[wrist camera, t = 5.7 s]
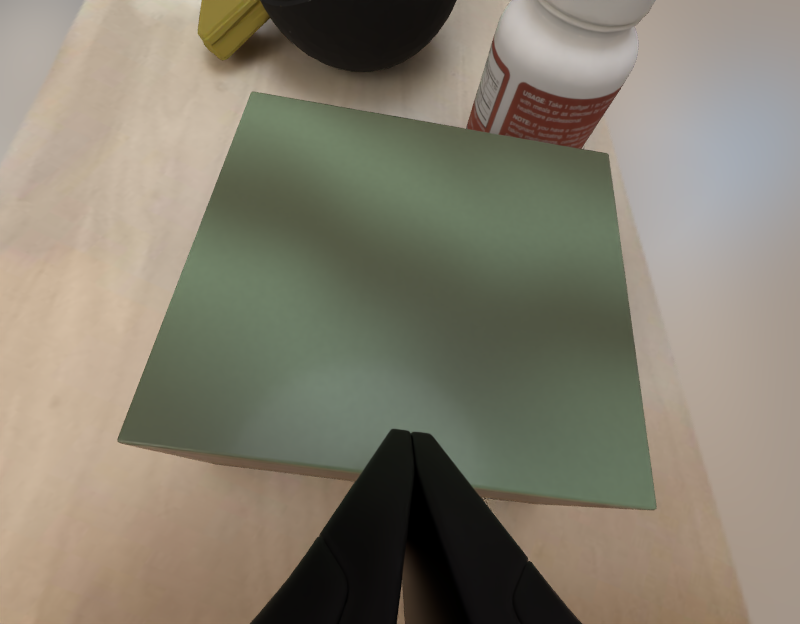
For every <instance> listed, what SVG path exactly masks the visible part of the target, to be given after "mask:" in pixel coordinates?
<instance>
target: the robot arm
mask: <svg viewBox="0 0 800 624" xmlns="http://www.w3.org/2000/svg"><path fill="white" fill-rule="evenodd" d="M527 561H528V558H527V556H526V555H525V554H524V552H523V551H522V550H521V548H520V547H519V546H518V545H517V543H516V542H515V541H514V539H513V538H512V537H511V536H510V534H509V533H508V532H507V530H506V529H505V528H504V527H503V525H502V524H501V523H500V521H499V520H498V519H497V518H496V516H495V515H494V514H493V512H492V511H491V510H490V509H489V507H488V506H487V505H486V504H485V502H484V501H483V500H482V498H481V497H480V496H479V495H478V493H477V492H476V491H475V489H474V488H473V487H472V486H471V484H470V483H469V482H468V480H467V479H466V478H465V477H464V475H463V474H462V473H461V471H460V470H459V469H458V468H457V466H456V465H455V464H454V462H453V461H452V460H451V459H450V457H449V456H448V455H447V453H446V452H445V451H444V450H443V448H442V447H441V446H440V445H439V443H438V442H437V441H436V439H435V438H434V437H433V436H432V435H431V434H430V433H423V432H415V431H414V432H412V433H410V432H409V431H408V430H400V429H391V430H390V431H389V433H388V434H387V436H386V437H385V439H384V440H383V442H382V443H381V444H380V446H379V447H378V449H377V450H376V452H375V453H374V455H373V456H372V458H371V459H370V461H369V462H368V464H367V465H366V467H365V468H364V470H363V471H362V473H361V474H360V475H359V477H358V478H357V480H356V481H355V483H354V484H353V486H352V487H351V489H350V490H349V492H348V493H347V495H346V496H345V498H344V499H343V501H342V502H341V504H340V505H339V506H338V508H337V509H336V511H335V512H334V514H333V515H332V517H331V518H330V520H329V521H328V523H327V524H326V526H325V527H324V529H323V530H322V532H321V533H320V535H319V537H318V538H317V539H316V540H315V541H314V543H313V544H312V546H311V547H310V549H309V550H308V552H307V553H306V555H305V556H304V557H303V559H302V560H301V562H300V563H299V564H298V566H297V567H296V568H295V570H294V571H293V572H292V574H291V575H290V577H289V578H288V579H287V581H286V582H285V583H284V584H283V585H282V586H281V588H280V589H279V590H278V591H277V592H276V594H275V595H274V596H273V597H272V598H271V600H270V601H269V602H268V603H267V604H266V606H265V607H264V608H263V609H262V610H261V611H260V613H259V614H258V615H257V616H256V617H255V618H254V619H253V621H252V622H251V623H250V624H397V616H398V608H399V600H400V592H401V584H402V587H403V602H404V617H405V624H582V623H581V622H580V621H579V620H578V619H577V617H576V616H575V615H574V614H573V613H572V612H571V611H570V610H569V608H568V607H567V606H566V605H565V603H564V602H563V601H562V600H561V599H560V597H559V596H558V595H557V594H556V592H555V591H554V590H553V589H552V588H551V586H550V585H549V584H548V583H547V581H546V580H545V579H544V578H543V576H542V575H541V574H540V573H539V571H538V570H537V569H536V567H535V566H534V565H533V564H532V562H530V561H528V562H527Z"/></svg>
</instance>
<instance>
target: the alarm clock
mask: <svg viewBox="0 0 800 624" xmlns="http://www.w3.org/2000/svg"><path fill="white" fill-rule="evenodd" d="M456 1H457V0H202V3H201V10H200V16H199V24H198V35H199V36H200V38H201V39H202V40H203V43H204V45H205V46H206V47H207V48H208V50H209V51H211V52H212V53H214V54H215V55H216V56H217V57H218V58H219V59H221V60H226V59H228V58H229V57H230V56H231V55H232V54H233V53H234V52H235V51H236V50H237V49H239V48H240V47H241V46H242V45H243V44H244V43H245V42H246V41H247V40H248V39H249V38H250V37H251V36H252V35H253V34H254V33H255V32H256V31H257V30H258V29H259V28H260V27H261V26H262V25H263V24H264V23H265V22H266V21H267V20H268V19H269V18H271V19H272V20H273V22H274V23H275V25H276V26H277V27H278V28H279V30H280V31H281V32H282V33H283V34H284V35H285V36H286V37H287V38H288V39H289V40H290V41H291V42H292V43H294V44H295V45H296V46H297V47H298V48H300V49H301V50H302V51H303V52H305V53H306V54H308V55H309V56H311V57H313V58H315V59H317V60H319V61H321V62H323V63H324V64H327V65H329V66H332V67H335V68H338V69H343V70H348V71H355V72H367V71H376V70H380V69H385V68H389V67H392V66H394V65H397V64H399V63H401V62H403V61H405V60H407V59H408V58H410V57H412V56H413V55H415V54H416V53H418V52H419V51H420V50H421V49H422V48H424V47H425V46H426V45H427V44H428V43H429V42H430V41H431V40H432V39H433V38H434V37H435V35H436V34H437V33H438V32H439V30H440V29H441V27H442V26H443V25H444V23H445V22H446V20H447V19H448V17H449V15H450V13H451V11H452V9H453V7H454V5H455V3H456Z"/></svg>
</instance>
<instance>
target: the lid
mask: <svg viewBox="0 0 800 624" xmlns="http://www.w3.org/2000/svg"><path fill="white" fill-rule="evenodd" d="M391 429H400V430H408V431H409V432H410V433H412V432H414V431H415V432H423V433H430V434H431V435H432V436H433V437H434V438H435V439H436V441H437V442H438V443H439V445H440V446H441V447H442V448H443V450H444V451H445V452H446V453H447V455H448V456H449V457H450V459H451V460H452V461H453V462H454V464H455V465H456V466H457V468H458V469H459V470H460V471H461V473H462V474H463V475H464V477H465V478H466V479H467V480H468V482H469V483H470V484H471V486H472V487H473V488H474V489H478V490H486V491H494V492H502V493H510V494H518V495H525V496H533V497H541V498H549V499H557V500H565V501H573V502H581V503H589V504H597V505H605V506H613V507H621V508H629V509H637V510H655V509H656V507H657V506H656V499H655V491H654V484H653V477H652V469H651V462H650V455H649V447H648V440H647V433H646V425H645V418H644V411H643V403H642V396H641V389H640V381H639V374H638V367H637V359H636V352H635V345H634V337H633V330H632V323H631V315H630V308H629V301H628V293H627V286H626V279H625V271H624V264H623V257H622V250H621V242H620V235H619V228H618V220H617V213H616V206H615V198H614V191H613V184H612V176H611V169H610V162H609V155H608V154H607V153H602V152H596V151H590V150H584V149H579V148H573V147H567V146H561V145H556V144H550V143H544V142H539V141H533V140H527V139H521V138H516V137H510V136H504V135H499V134H493V133H487V132H481V131H476V130H470V129H464V128H459V127H453V126H447V125H441V124H436V123H430V122H424V121H419V120H413V119H407V118H401V117H396V116H390V115H384V114H379V113H373V112H367V111H361V110H356V109H350V108H344V107H339V106H333V105H327V104H321V103H316V102H310V101H304V100H299V99H293V98H287V97H281V96H276V95H270V94H264V93H259V92H251V94H250V97H249V100H248V102H247V105H246V107H245V110H244V113H243V115H242V118H241V120H240V123H239V126H238V128H237V131H236V133H235V136H234V138H233V141H232V144H231V146H230V149H229V151H228V154H227V157H226V159H225V162H224V164H223V167H222V170H221V172H220V175H219V177H218V180H217V183H216V185H215V188H214V190H213V193H212V195H211V198H210V201H209V203H208V206H207V208H206V211H205V214H204V216H203V219H202V221H201V224H200V227H199V229H198V232H197V234H196V237H195V240H194V242H193V245H192V247H191V250H190V252H189V255H188V258H187V260H186V263H185V265H184V268H183V271H182V273H181V276H180V278H179V281H178V284H177V286H176V289H175V291H174V294H173V297H172V299H171V302H170V304H169V307H168V309H167V312H166V315H165V317H164V320H163V322H162V325H161V328H160V330H159V333H158V335H157V338H156V341H155V343H154V346H153V348H152V351H151V354H150V356H149V359H148V361H147V364H146V366H145V369H144V372H143V374H142V377H141V379H140V382H139V385H138V387H137V390H136V392H135V395H134V398H133V400H132V403H131V405H130V408H129V411H128V413H127V416H126V418H125V421H124V423H123V426H122V429H121V431H120V434H119V436H118V442H119V443H121V444H126V445H130V446H136V447H144V448H152V449H160V450H168V451H176V452H184V453H192V454H200V455H208V456H216V457H224V458H231V459H239V460H247V461H255V462H263V463H271V464H279V465H287V466H295V467H303V468H311V469H319V470H327V471H335V472H343V473H351V474H359V475H360V474H361V473H362V471H363V470H364V468H365V467H366V465H367V464H368V462H369V461H370V459H371V458H372V456H373V455H374V453H375V452H376V450H377V449H378V447H379V446H380V444H381V443H382V442H383V440H384V439H385V437H386V436H387V434H388V433H389V431H390V430H391Z"/></svg>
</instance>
